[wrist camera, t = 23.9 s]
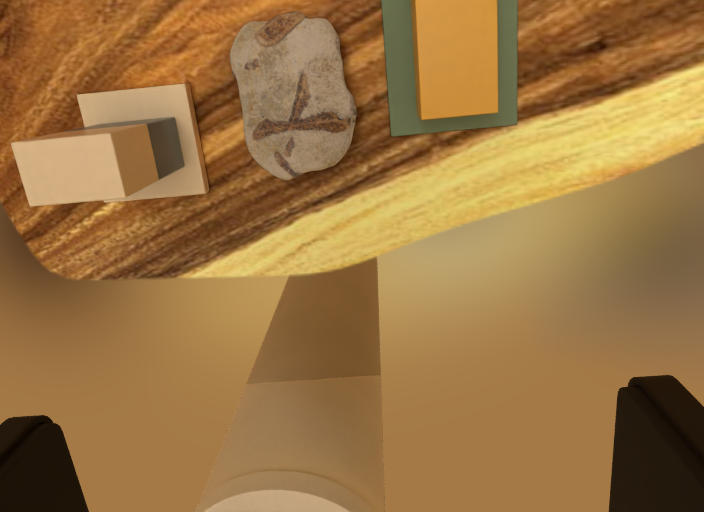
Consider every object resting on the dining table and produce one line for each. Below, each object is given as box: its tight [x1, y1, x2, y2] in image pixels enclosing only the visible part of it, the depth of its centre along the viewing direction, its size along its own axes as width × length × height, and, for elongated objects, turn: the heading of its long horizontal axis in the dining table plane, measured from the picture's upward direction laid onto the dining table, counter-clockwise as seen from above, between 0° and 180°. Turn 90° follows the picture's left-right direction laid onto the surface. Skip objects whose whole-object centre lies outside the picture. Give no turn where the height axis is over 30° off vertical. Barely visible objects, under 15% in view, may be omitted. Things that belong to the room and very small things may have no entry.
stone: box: [230, 11, 356, 180], centre depth 33 cm, size 10×7×3 cm
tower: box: [11, 83, 210, 207], centre depth 31 cm, size 7×7×10 cm
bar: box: [411, 0, 498, 120], centre depth 31 cm, size 4×10×3 cm, turn 6°
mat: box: [381, 0, 518, 137], centre depth 33 cm, size 12×8×1 cm, turn 6°
